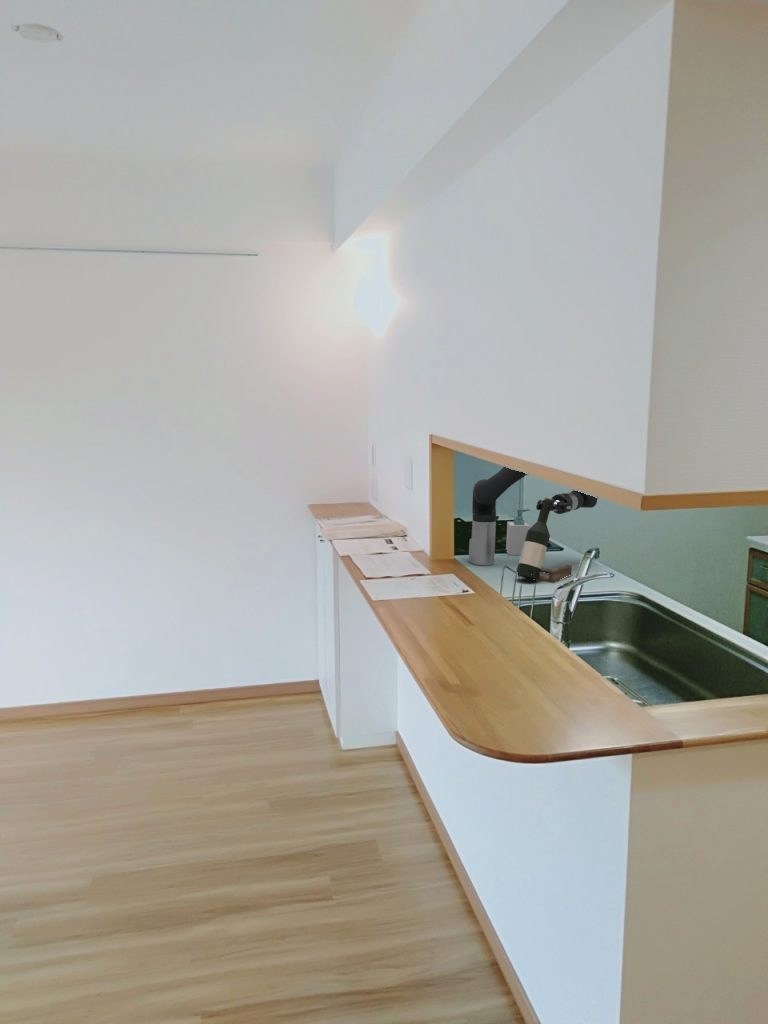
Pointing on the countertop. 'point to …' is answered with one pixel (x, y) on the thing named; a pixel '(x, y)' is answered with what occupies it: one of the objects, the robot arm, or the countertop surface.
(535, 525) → the wine bottle
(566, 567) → the cradle
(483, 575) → the countertop surface
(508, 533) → the soap bottle
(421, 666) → the countertop surface
